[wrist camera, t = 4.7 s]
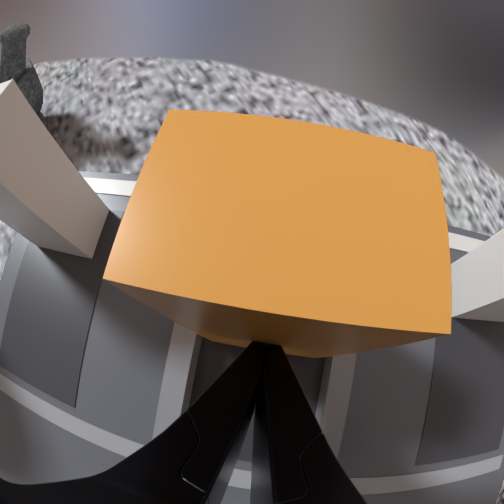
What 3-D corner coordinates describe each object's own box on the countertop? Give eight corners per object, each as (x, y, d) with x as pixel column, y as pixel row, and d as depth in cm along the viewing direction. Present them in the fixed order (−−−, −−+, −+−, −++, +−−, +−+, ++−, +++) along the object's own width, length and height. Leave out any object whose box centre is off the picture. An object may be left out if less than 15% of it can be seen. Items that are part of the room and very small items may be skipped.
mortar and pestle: (-14, 193, 20) (-86, 123, 9) (-2, 133, 23) (-51, 67, 12) (73, 139, 21) (10, 35, 10) (75, 86, 25) (35, 2, 13)
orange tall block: (315, 358, 13) (450, 334, 3) (211, 341, 13) (102, 278, 4) (324, 293, 14) (435, 152, 4) (224, 277, 14) (169, 109, 5)
